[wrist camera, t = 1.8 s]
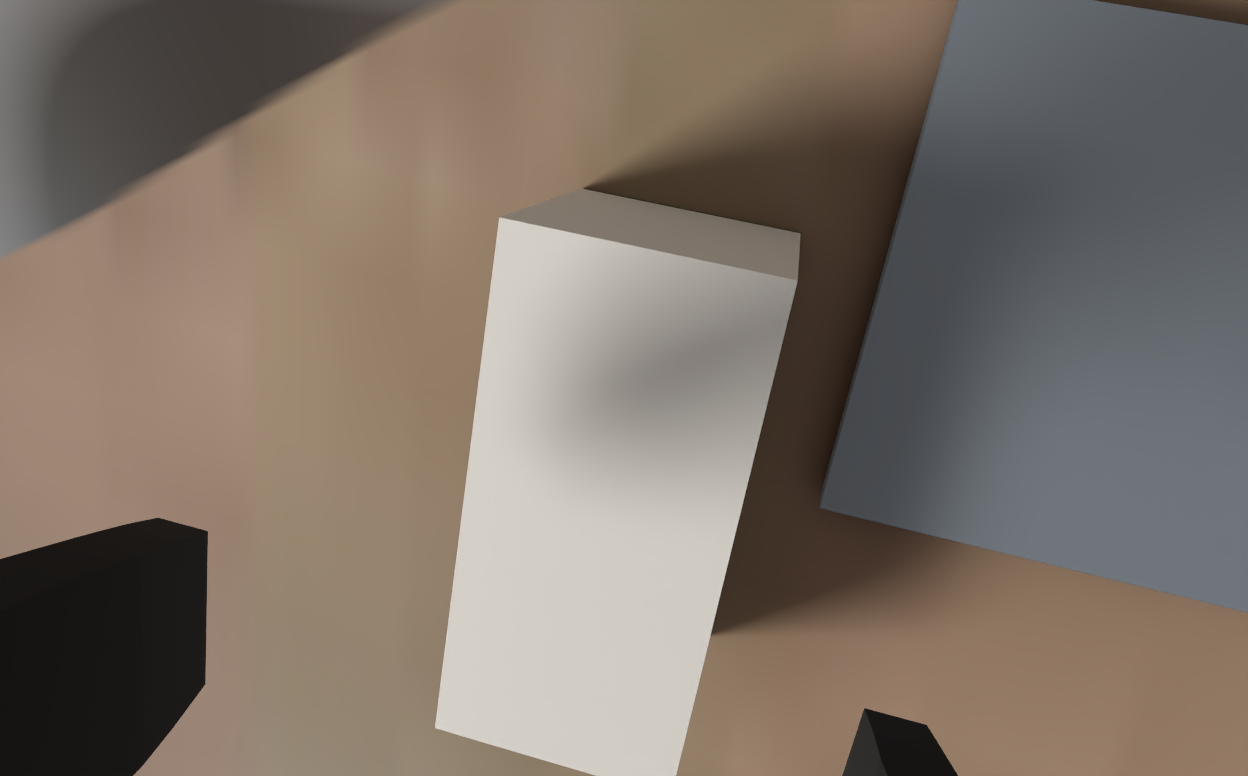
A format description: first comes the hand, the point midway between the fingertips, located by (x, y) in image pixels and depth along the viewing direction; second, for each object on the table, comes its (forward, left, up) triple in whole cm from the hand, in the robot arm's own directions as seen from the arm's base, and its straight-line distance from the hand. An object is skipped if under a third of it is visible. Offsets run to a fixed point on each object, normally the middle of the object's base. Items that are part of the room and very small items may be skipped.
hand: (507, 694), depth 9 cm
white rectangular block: (0, 0, -8) cm, 8 cm away
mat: (-10, -4, -8) cm, 13 cm away
